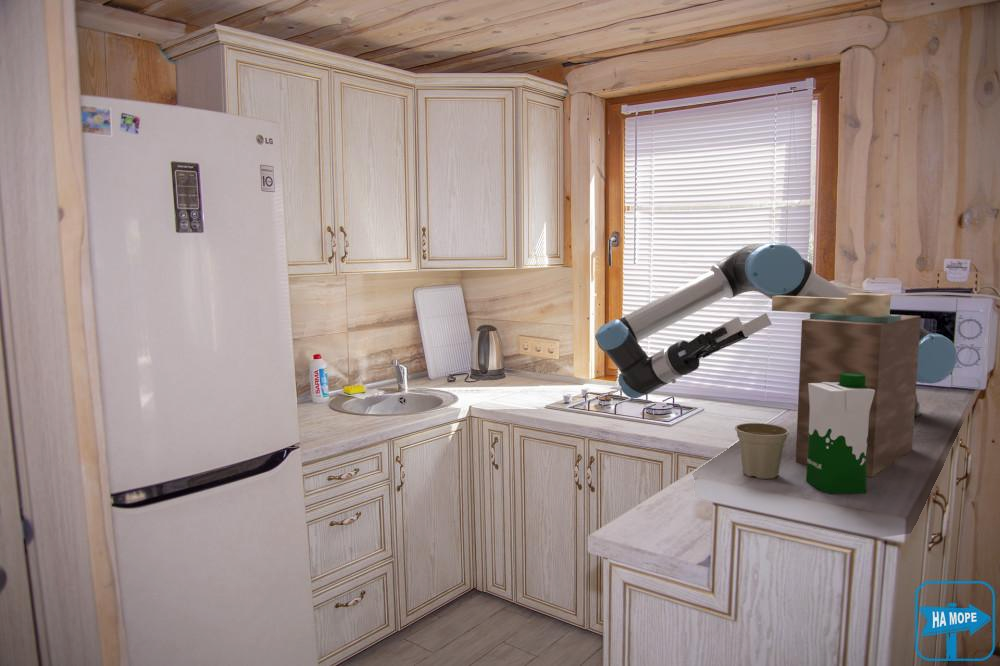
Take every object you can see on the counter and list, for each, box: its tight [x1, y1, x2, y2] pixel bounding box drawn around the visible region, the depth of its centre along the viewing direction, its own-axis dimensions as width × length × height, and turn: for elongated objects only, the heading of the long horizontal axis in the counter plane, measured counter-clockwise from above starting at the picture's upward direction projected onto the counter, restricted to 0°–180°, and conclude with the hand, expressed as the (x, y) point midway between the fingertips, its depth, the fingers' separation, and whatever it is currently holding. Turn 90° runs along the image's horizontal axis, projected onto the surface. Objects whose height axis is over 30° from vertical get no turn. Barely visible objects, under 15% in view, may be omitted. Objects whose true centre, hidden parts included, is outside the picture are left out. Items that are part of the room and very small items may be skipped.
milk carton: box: [805, 372, 875, 495], centre depth 123 cm, size 9×9×20 cm
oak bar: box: [771, 292, 892, 317], centre depth 141 cm, size 21×6×4 cm, turn 46°
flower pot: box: [734, 422, 790, 480], centre depth 131 cm, size 9×9×9 cm
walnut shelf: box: [795, 313, 921, 478], centre depth 143 cm, size 14×26×29 cm, turn 136°
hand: (755, 320), depth 151 cm, fingers open, 13 cm apart
